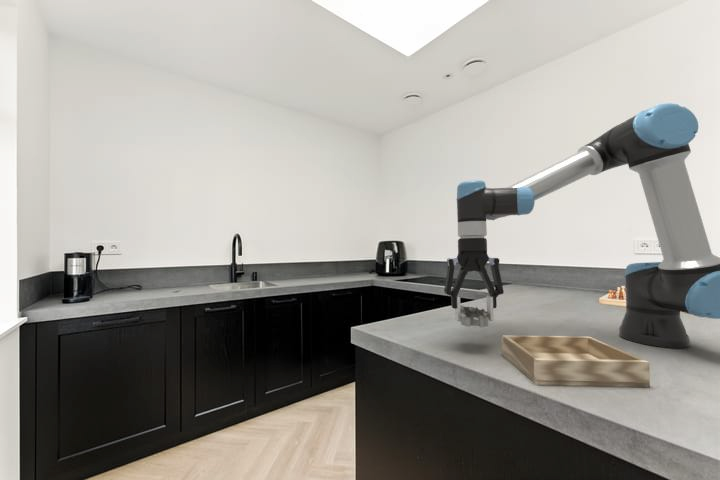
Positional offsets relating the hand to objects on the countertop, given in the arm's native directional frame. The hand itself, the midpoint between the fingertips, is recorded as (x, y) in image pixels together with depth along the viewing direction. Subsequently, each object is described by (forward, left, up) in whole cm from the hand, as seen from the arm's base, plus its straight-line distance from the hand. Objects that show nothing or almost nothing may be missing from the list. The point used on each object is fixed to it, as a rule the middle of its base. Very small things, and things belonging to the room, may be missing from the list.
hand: (474, 320), depth 84 cm
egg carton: (0, 0, -1) cm, 1 cm away
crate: (-17, +13, -8) cm, 22 cm away
